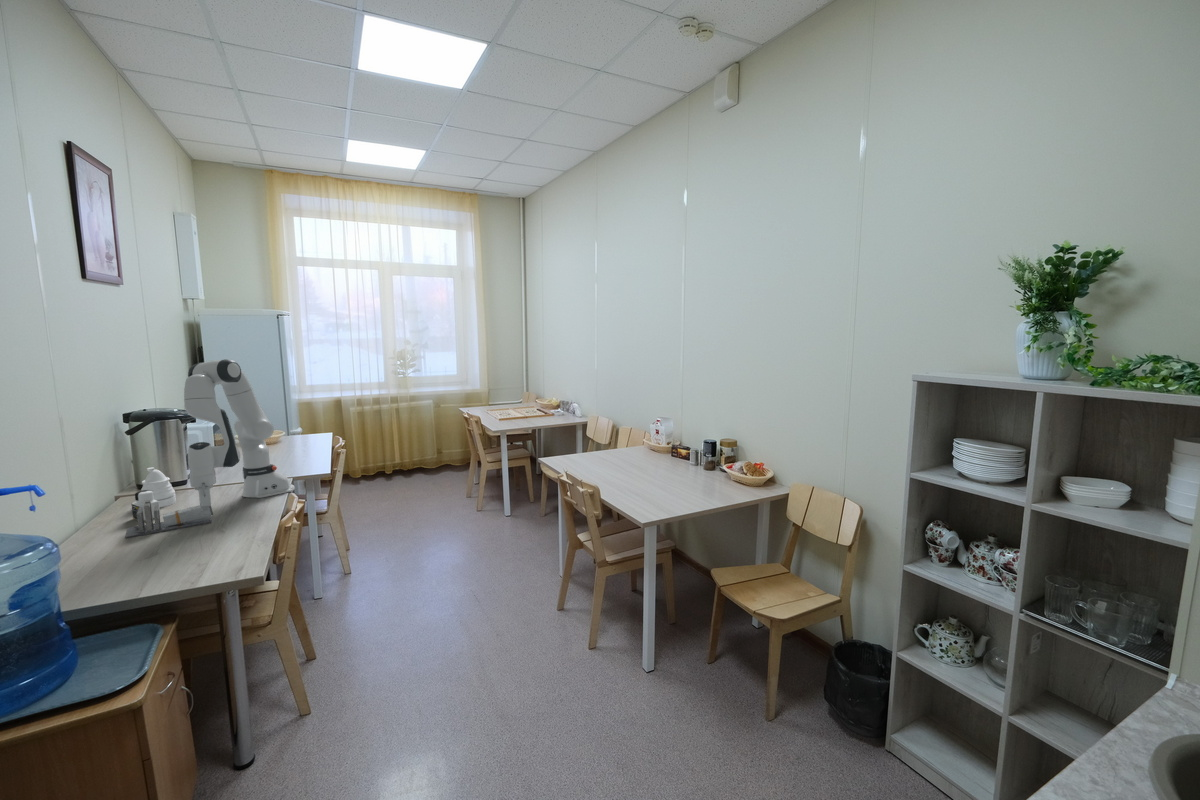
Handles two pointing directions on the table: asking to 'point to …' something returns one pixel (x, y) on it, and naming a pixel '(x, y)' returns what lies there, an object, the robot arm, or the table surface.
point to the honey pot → (159, 487)
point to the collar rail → (158, 522)
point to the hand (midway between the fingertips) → (206, 511)
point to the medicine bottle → (143, 502)
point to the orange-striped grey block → (185, 515)
